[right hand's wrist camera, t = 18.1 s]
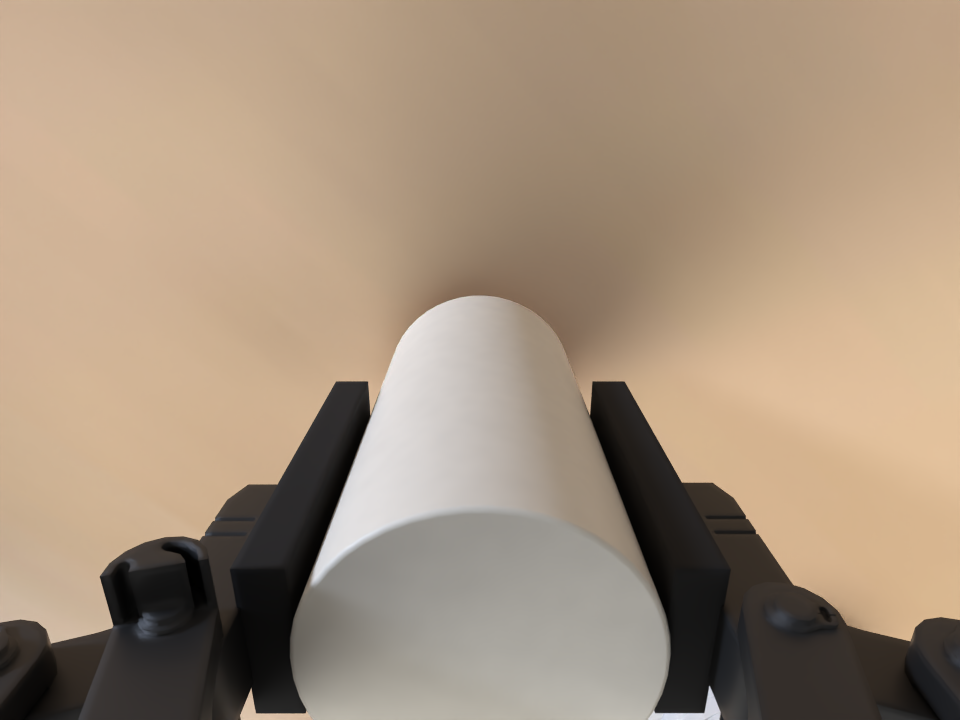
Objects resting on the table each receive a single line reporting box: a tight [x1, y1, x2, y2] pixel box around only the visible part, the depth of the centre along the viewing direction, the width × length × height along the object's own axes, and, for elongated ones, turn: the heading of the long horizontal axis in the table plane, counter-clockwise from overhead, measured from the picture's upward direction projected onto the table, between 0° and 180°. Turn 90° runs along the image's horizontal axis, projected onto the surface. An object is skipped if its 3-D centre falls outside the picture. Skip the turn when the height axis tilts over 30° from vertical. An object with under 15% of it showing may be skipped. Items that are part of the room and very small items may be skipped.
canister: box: [290, 296, 671, 720], centre depth 13 cm, size 5×5×10 cm
